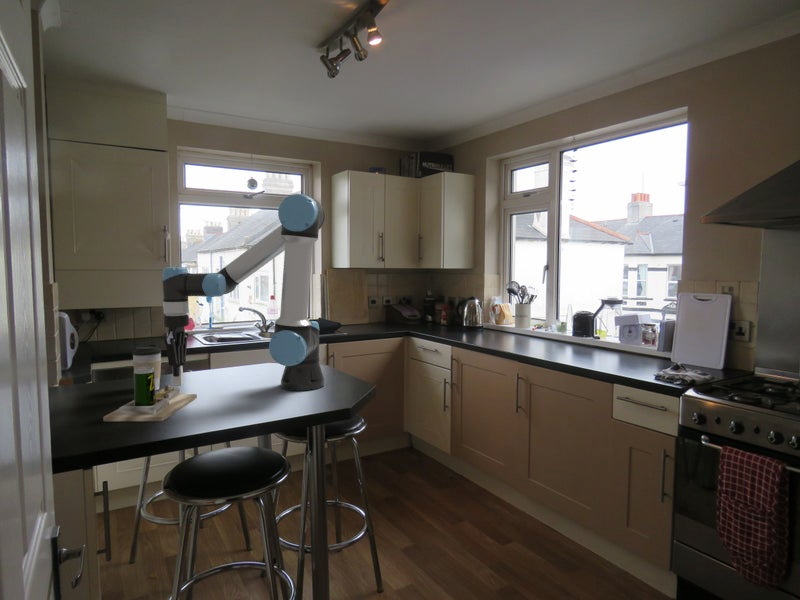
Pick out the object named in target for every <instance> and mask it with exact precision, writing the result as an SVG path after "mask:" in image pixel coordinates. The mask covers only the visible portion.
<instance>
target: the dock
mask: <svg viewBox="0 0 800 600" xmlns="http://www.w3.org/2000/svg"><path fill="white" fill-rule="evenodd" d="M163 389H164V387H163V388H161V389H158V390H156V391H155V397H156V393H158V392H160V391H162V390H163ZM165 397H166V398H158V399H157V401H156V404H154V405H153V406H135V399H133V400H132V401H131V400H130V401H129V402H127V403H125V404H123V405H122V406H120V407H119V408H118V409H116V410H114V411H112V412H110V413H108V414H106V415H104V416H103V419H102V421H103V422H164V420H166V419H168V418H169V417H171V416H173V415H174V414H175V413H176V412H178V411H180V410H181V409H183V408H184V407H186V406H187V405H188V404H190V403H191V402H193V401H195V400H196V399H197V398H198V395H197V393H196V394H195V393H194V394H193V393H181V392H180V387H179V388H178V387H175V389H174V390H172V391H170V392H169V393H167V394H165Z"/></svg>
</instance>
